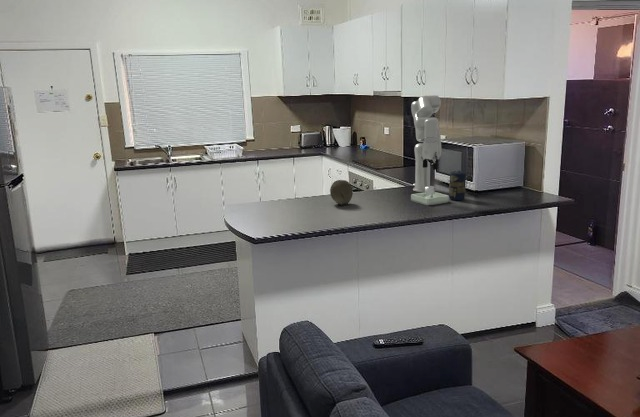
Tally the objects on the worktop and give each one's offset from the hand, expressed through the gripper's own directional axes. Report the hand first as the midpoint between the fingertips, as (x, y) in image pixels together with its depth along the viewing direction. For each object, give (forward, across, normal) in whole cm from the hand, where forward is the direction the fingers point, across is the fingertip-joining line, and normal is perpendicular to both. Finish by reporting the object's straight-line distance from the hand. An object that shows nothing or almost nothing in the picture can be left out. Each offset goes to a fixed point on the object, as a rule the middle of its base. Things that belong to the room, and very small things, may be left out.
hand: (430, 168), depth 312 cm
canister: (+20, +5, +17) cm, 27 cm away
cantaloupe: (+20, -24, -48) cm, 57 cm away
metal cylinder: (+19, 0, 0) cm, 19 cm away
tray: (+20, 0, 0) cm, 20 cm away
